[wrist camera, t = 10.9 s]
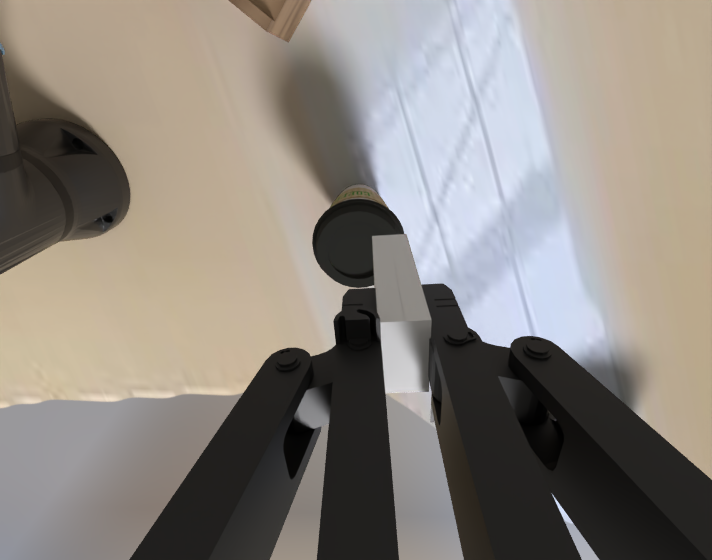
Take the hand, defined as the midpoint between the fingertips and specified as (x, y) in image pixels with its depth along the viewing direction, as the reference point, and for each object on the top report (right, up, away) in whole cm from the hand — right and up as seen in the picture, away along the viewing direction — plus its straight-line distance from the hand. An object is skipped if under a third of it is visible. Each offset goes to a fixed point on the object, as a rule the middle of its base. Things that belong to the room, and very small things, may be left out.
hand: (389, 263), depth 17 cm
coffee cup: (-1, +9, +34) cm, 36 cm away
